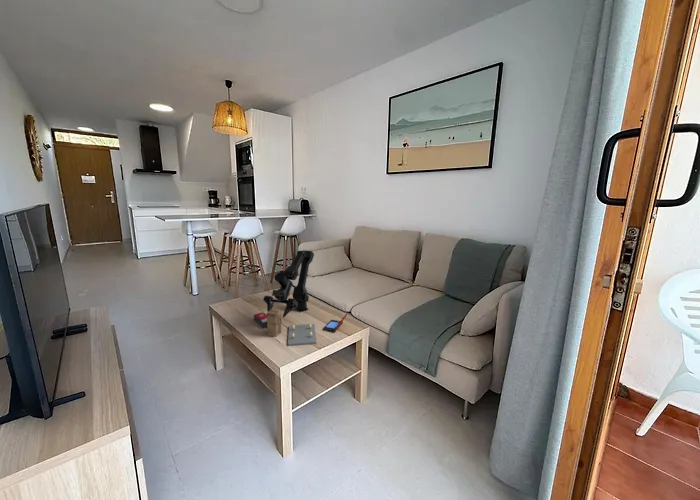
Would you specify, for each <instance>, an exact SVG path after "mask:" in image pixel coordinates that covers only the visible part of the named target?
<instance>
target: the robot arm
mask: <svg viewBox="0 0 700 500" xmlns="http://www.w3.org/2000/svg"><path fill="white" fill-rule="evenodd" d="M314 256H315V252H313V250H307V249H305V250H304V249H303V250H297V252H296V255H295V257H294V259H293V261H292V262H291V264H290V266H287V267H286V268H285V270H280V272H278V273H276V274H275V276H274V280H275V282H277V284H278V285H279V286H280V287H279V288H278V289H273V290H272V294H271V295H264V296H263V298H262V301H264V303H266V307H267V308H266V309H267V310H266V311H267V312H268V311H270V310H271V309H274V308H273V307H274V304H275V303H276V304H277V303H279V304H286V305H285V308H284V311H283V315H282V318H285V317H286V316H287V315H288V314H289V313H290V312H291V311H292V310H295V311H297V312H299V313H302V312H305V311H307V310H309V307H308V305H307V304H308V302H309V299H310V295H308V294H309V293H307V292H308V291H307V287H306V284H307V277H308V274H309V273H308V272H309V267H310V264H311V263H313V260H314ZM299 268H300V269H299ZM298 270H300V271H299V272H298ZM298 275H299V276H298ZM297 278H298V280H297V281H298V282H297V285H296V286H294V283H293V281H296V279H297ZM292 287H293V292H292V298H288V297H290V295H291V289H292Z"/></svg>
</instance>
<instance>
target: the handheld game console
mask: <svg viewBox="0 0 700 500" xmlns="http://www.w3.org/2000/svg"><path fill="white" fill-rule="evenodd" d="M348 314H349V313H348V312H346V313H345V315H344V316H343V317H342V318H341V320H336V319H330V321H328V323H327V324H326V325H325V326H323V328H322V331H324V332H330V333H337V330H338V329H339V328H340V327H341V326H342V325H343V324H344V321H345V319H346V317H347V316H348Z"/></svg>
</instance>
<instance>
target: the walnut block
mask: <svg viewBox="0 0 700 500" xmlns="http://www.w3.org/2000/svg"><path fill="white" fill-rule="evenodd" d="M281 322H282V317H281V309H275V308H272V309H271V310H270V311H268V312H267V327H268V328H267V336H268V337H269V336H270V337H276V338H277V337H278V336H279V335H280V334H281V333H282V323H281Z"/></svg>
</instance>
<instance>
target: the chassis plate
mask: <svg viewBox="0 0 700 500" xmlns="http://www.w3.org/2000/svg"><path fill="white" fill-rule="evenodd" d="M315 326H316V324H315V323H309V324H297V325H296V324H293V325H289V326H288V336H287V337H288V339H287V340H288V341H287V347H291V346H292V347H293V346H294V347H295V346H305V345H306V346H307V345H316V344H317V336H316V335H317V334H316V327H315Z"/></svg>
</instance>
